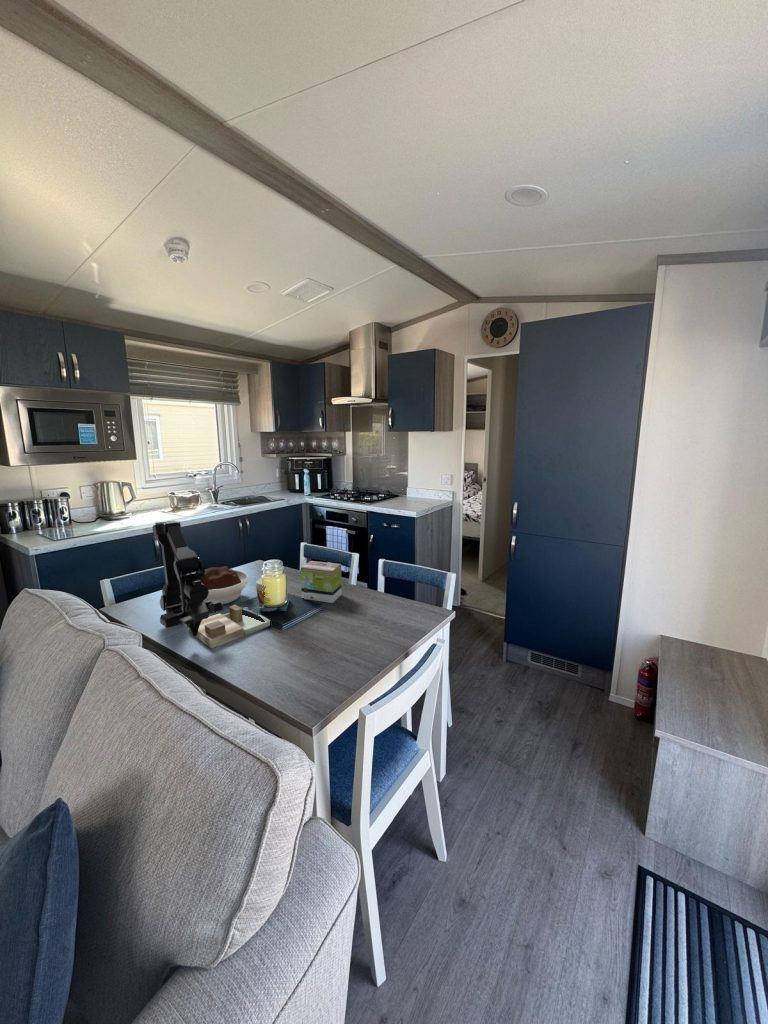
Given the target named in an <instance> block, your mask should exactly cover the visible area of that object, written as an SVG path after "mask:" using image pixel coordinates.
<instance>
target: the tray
mask: <svg viewBox="0 0 768 1024" xmlns="http://www.w3.org/2000/svg"><path fill="white" fill-rule="evenodd" d="M243 608H248V607H247V606H245V607H243ZM222 615H223V616H225V617H226V618H228V619H230V613H229V612H227V613H224V614H222ZM258 616H260V617H261V618H262V619H263V620H264V621H265V622H261V621H259V620H256V619H254V618H251V617H248V616H245V615H242V617H243V621H240V622H238V623H236V622H235V621H233V620H231V619H230V620H231V621H233V622H235V623H236V624H238V625H239V626H241V627H243V628H244V636H243V637H245V636H248V635H250V634H253V633H255V632H258V631H261V630H264V629H266V628H268V627H271V626H270V621H271V619H269V618H267V617H266V616H264V615H261V614H260V615H258ZM271 622H272V621H271Z"/></svg>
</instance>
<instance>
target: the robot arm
mask: <svg viewBox="0 0 768 1024" xmlns="http://www.w3.org/2000/svg"><path fill="white" fill-rule="evenodd" d="M152 533H153V535H154V536H155V537H154V538H155V539H156V541H157V542H158V543H159V544H160V545H161V552H162V560H163V571H164V579H165V583H164V585H163V587H162V588H161V595H160V599H159V604H160V608H161V610H162V611H163V612H166V613H164V614H161V615H160V617H159V622H160V624H161V625H162V626H163V627H164V628H166V629H169V628H172V627H176V626H178V624H182V623H183V624H184V625H186V627H187V628H188V631H189V630H190V632H191V633H190V632H189V633H190V634H191V635H192V637H194V638H195V637H196V636H197V633H198V629H199V626H200V623H201V621H202V620H203V619H207V618H208V617H210V615H209V614H213V613H214V614H215V613H218V612H222V611H223V610H224V608H223V607H224V606H223V605H224V604H222V603H221V602H219V601H217V600H216V599H212V600H209V601H206V602H205V603H204V602H203V601H204V600H205V599H206V598H207V596H208V593H209V591H208V588H207V587H206V586H205V585H204V584H203V583H201V580H200V578H202V577H205V574H204V573H205V567H204V563H203V561H202V559H201V557H199V556H198V555H197V553H196V551H195V550H192V549H190V548H189V545H188V542H187V541H186V538H185V537H184V535H183V531H182V525H181V521H177V520H175V519H170V520H163V521H155V524H153V525H152ZM199 571H200V572H199Z"/></svg>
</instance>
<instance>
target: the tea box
mask: <svg viewBox="0 0 768 1024" xmlns="http://www.w3.org/2000/svg"><path fill="white" fill-rule="evenodd" d="M300 587H301V591H300V592H301V599H302V598H304V599H303V600H310V601H315V602H316V601H317V602H323V603H329V604H333V603H334V602H336V601H337V599H339V598H340V597H341V596H342V564H341V563H336V562H335V563H333V562H324V561H316V560H315V561H314V560H310V561H308V562H307V563H305V564H304V565H302V566H301V567H300Z"/></svg>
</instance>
